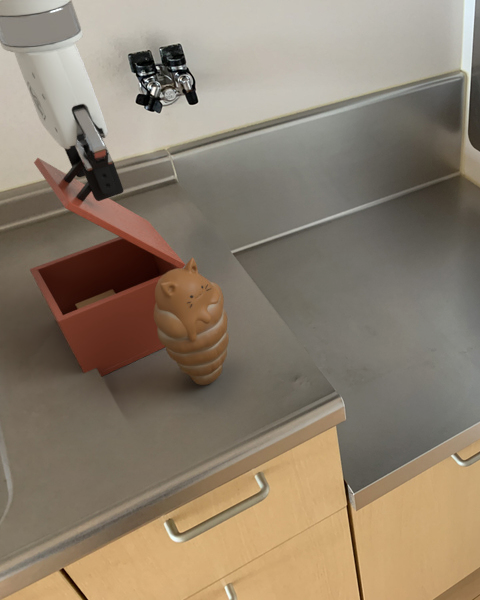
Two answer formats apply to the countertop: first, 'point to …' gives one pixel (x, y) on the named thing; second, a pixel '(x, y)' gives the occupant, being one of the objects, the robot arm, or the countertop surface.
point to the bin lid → (105, 211)
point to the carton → (95, 299)
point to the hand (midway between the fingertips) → (99, 183)
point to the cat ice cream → (192, 322)
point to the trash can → (105, 302)
